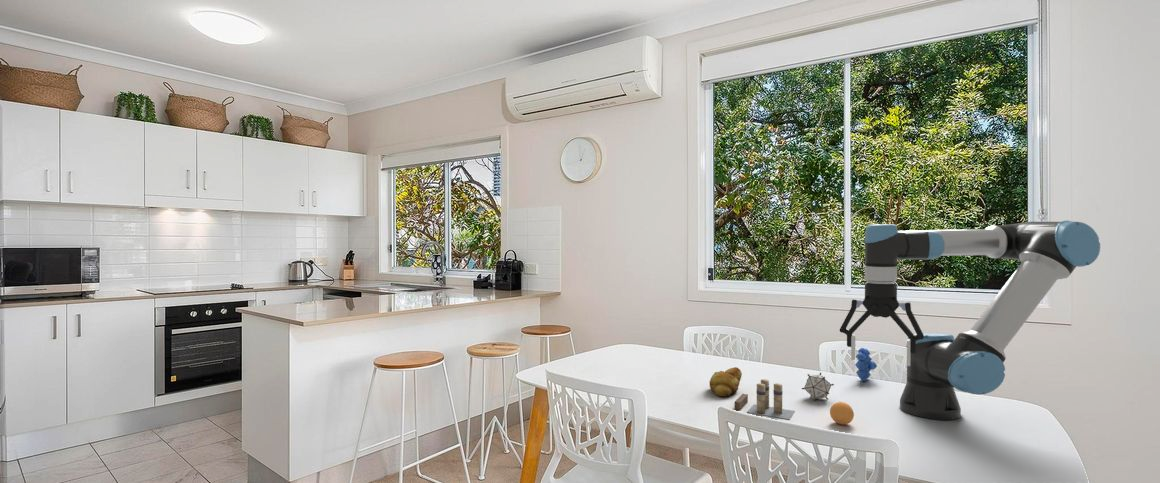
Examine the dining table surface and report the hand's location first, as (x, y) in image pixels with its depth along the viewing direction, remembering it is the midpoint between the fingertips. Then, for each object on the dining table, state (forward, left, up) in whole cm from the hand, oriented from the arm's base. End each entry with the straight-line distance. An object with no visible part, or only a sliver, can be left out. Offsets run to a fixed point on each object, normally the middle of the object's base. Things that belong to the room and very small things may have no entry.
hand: (880, 362), depth 145 cm
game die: (+18, -20, -19) cm, 33 cm away
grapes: (+7, -49, -19) cm, 53 cm away
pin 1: (+31, +3, -18) cm, 36 cm away
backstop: (+37, -1, -18) cm, 42 cm away
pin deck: (+28, 0, -18) cm, 34 cm away
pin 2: (+31, -2, -18) cm, 36 cm away
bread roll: (+46, -12, -19) cm, 51 cm away
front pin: (+26, 0, -18) cm, 32 cm away
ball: (+9, 0, -15) cm, 18 cm away
